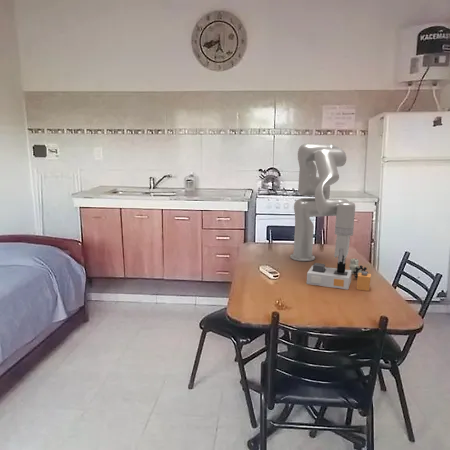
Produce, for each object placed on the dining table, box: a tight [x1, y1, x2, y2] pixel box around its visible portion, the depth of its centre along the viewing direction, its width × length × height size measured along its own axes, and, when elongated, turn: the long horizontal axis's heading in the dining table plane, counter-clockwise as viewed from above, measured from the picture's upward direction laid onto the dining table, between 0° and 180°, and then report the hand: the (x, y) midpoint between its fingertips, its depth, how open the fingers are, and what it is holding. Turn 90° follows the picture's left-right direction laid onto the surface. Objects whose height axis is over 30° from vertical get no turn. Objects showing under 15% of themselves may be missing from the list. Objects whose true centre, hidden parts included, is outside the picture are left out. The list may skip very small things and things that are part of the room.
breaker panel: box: [306, 264, 352, 291], centre depth 190 cm, size 12×18×5 cm
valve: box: [349, 258, 368, 279], centre depth 200 cm, size 7×7×12 cm
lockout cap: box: [356, 270, 372, 292], centre depth 183 cm, size 5×5×7 cm
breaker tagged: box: [335, 271, 347, 276], centre depth 188 cm, size 4×4×4 cm
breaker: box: [313, 262, 326, 273], centre depth 191 cm, size 4×4×4 cm
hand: (340, 272), depth 188 cm, fingers closed
